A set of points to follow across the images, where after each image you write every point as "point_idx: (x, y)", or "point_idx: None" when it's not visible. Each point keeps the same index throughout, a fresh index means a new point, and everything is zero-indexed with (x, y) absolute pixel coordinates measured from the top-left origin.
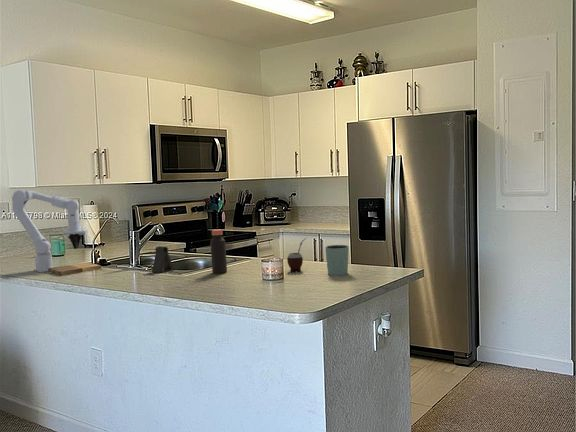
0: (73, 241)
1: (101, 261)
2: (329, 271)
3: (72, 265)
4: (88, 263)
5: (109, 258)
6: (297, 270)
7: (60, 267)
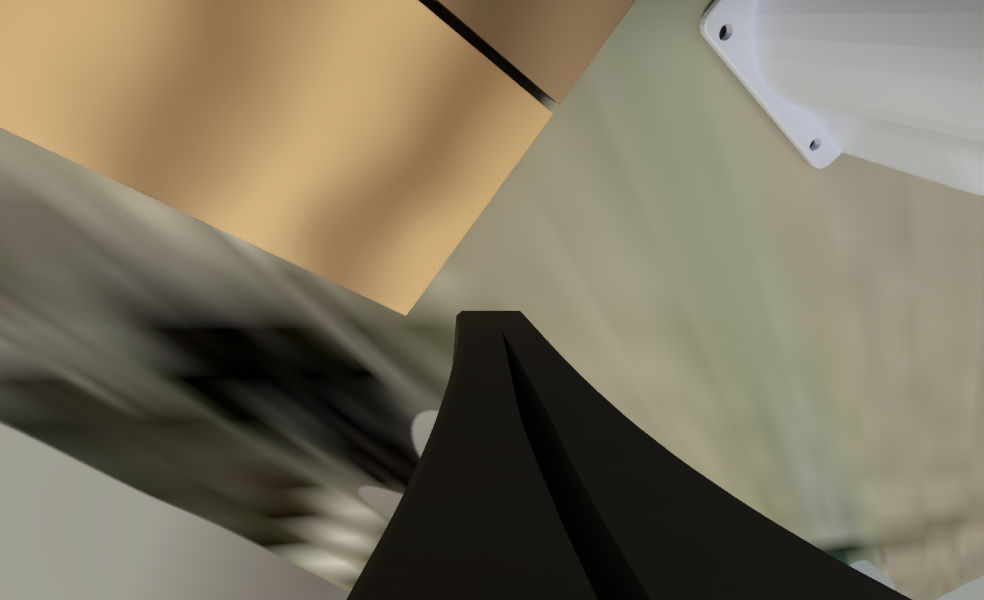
0: (558, 463)
1: None
2: None
3: (461, 83)
4: (309, 247)
5: None
6: None
7: None
